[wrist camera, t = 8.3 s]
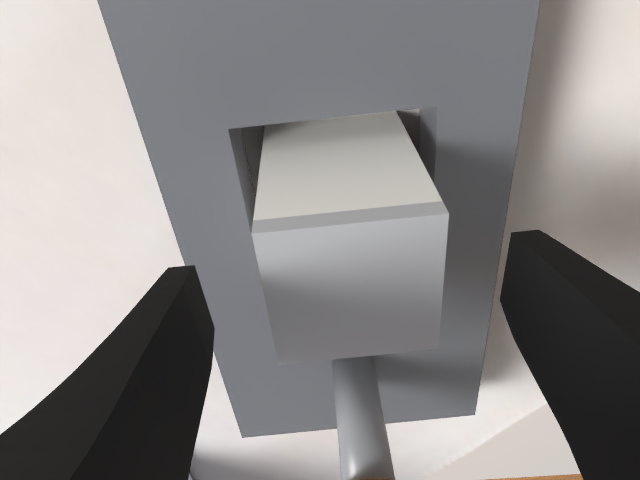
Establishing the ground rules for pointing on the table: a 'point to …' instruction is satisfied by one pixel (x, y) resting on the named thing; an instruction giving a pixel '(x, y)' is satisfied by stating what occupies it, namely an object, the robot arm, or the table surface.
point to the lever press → (319, 103)
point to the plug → (348, 239)
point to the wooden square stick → (558, 479)
